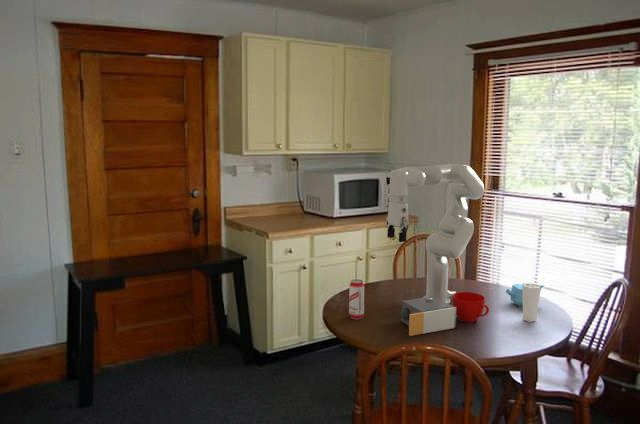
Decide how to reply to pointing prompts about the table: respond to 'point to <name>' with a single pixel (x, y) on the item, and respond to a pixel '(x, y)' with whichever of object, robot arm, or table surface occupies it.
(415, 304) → the block
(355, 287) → the beer can
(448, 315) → the side door
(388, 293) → the table surface
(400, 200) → the robot arm
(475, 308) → the ceramic cup
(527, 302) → the drinking glass
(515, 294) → the teapot
